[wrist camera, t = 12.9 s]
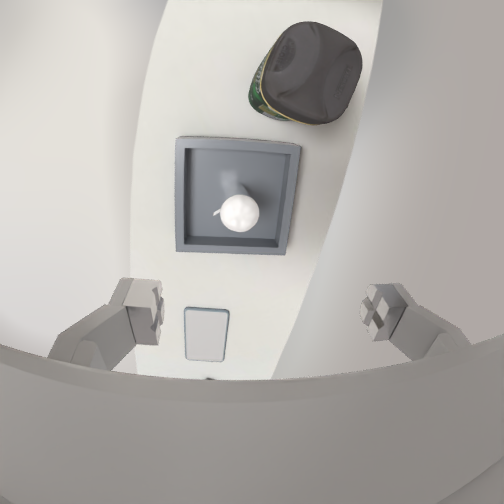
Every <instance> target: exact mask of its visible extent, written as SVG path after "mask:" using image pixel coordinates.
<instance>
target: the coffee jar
mask: <svg viewBox="0 0 504 504" xmlns="http://www.w3.org/2000/svg"><path fill="white" fill-rule="evenodd" d="M361 71H362V56H361V53H360V51H359V48H358V47H357V45H356V44H355V42H353V41H352V40H351V39H349V38H348V37H346V36H345V35H343V34H341V33H340V32H338V31H336V30H334V29H332V28H330V27H328V26H325V25H323V24H320V23H317V22H299V23H296V24H294V25H292V26H290V27H289V28H288V29H286V30H285V31H284V32H283V33H282V34H281V35H280V36H279V38H278V39H277V41H276V42H275V43H274V45H273V46H272V48H271V49H270V50H269V52H268V53H267V55H266V56H265V58H264V59H263V61H262V62H261V64H260V66H259V67H258V69H257V71H256V73H255V75H254V78H253V80H252V83H251V86H250V90H249V95H248V97H249V102H250V104H251V106H252V107H253V108H254V109H255V110H256V111H257V112H259V113H261V114H263V115H265V116H267V117H270V118H273V119H277V120H283V121H286V120H293V121H296V122H299V123H303V124H307V125H320V124H325V123H329V122H332V121H334V120H336V119H338V118H339V117H340V116H341V115H342V114H343V113H344V111H345V109H346V108H347V107H348V104H349V102H350V99H351V97H352V95H353V93H354V91H355V88H356V86H357V83H358V80H359V78H360V74H361Z"/></svg>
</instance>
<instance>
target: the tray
mask: <svg viewBox="0 0 504 504" xmlns="http://www.w3.org/2000/svg"><path fill="white" fill-rule="evenodd" d="M300 149H301V146H298V145H296V144H294V143H286V142H277V141H267V140H255V139H242V138H224V137H192V136H180V137H178V138H176V145H175V239H176V252H201V253H230V254H259V255H285V254H286V248H287V241H288V235H289V228H290V222H291V215H292V208H293V201H294V194H295V187H296V180H297V172H298V165H299V157H300ZM234 184H240V185H243V186H244V187H245V188H246V189H247V190H248V192H249V193H250V195H251V197H252V198H253V199H254V201H255V202H256V203H257V205H258V208H259V218H258V221H257V223H256V224H255V225H254V226H253V227H252V228H251V229H249V230H248V231H245V232H236V231H233V230H230V229H228V228H227V227H226V226H225V225H224V224H223V222H222V220H221V217H220V212H219V213H218V214H216V215H214V216H213V213H214V212H215V211H217V210H219V209H220V208H221V207H222V204H223V201H224V197H225V193H226V191H227V189H228V188H229V186H232V185H234Z"/></svg>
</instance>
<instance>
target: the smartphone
mask: <svg viewBox="0 0 504 504" xmlns="http://www.w3.org/2000/svg"><path fill="white" fill-rule="evenodd" d="M228 320H229V312H228V311H227V310H225V309H210V308H196V307H186V308H185V309H184V332H185V357H186V359H188V360H196V361H211V362H222V361H223V360H224V355H225V346H226V337H227V328H228Z"/></svg>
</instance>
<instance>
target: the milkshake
mask: <svg viewBox="0 0 504 504" xmlns="http://www.w3.org/2000/svg"><path fill="white" fill-rule="evenodd" d="M219 212H220V217H221V220H222V222H223V224H224V225H225V226H226V227H227V228H228V229H230V230H233V231H236V232H245V231H248V230H249V229H251V228H252V227H253V226H254V225H255V224H256V223H257V221H258V218H259V208H258V205H257V203H256V202H255V201H254V199H253V198H252V197H251V195H250V193H249V192H248V190H247V189H246V188H245V187H244V186H243V185H240V184H234V185H232V186H229V188H228V189H227V191H226V193H225V197H224V201H223V204H222V207H221V208H220V209H219V210H217V211H215V212H214V213H213V216H214V215H216V214H218V213H219Z"/></svg>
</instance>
